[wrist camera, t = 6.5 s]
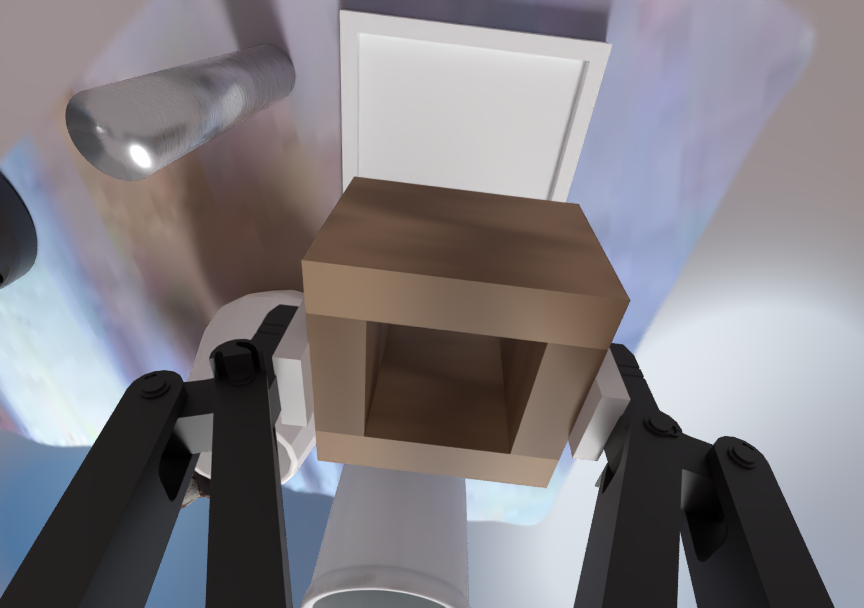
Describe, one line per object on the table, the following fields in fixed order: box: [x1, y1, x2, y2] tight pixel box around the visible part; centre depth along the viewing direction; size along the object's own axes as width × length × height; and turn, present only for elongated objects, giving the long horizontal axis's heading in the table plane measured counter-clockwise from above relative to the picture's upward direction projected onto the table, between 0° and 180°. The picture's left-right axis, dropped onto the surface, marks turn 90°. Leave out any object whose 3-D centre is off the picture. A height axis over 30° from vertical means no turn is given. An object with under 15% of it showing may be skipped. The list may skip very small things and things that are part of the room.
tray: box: [340, 9, 612, 203], centre depth 31 cm, size 16×16×2 cm
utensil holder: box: [301, 464, 470, 608], centre depth 45 cm, size 15×15×18 cm
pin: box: [66, 45, 295, 181], centre depth 22 cm, size 3×3×16 cm
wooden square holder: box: [301, 176, 630, 488], centre depth 15 cm, size 8×8×6 cm
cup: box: [188, 290, 316, 484], centre depth 36 cm, size 13×13×14 cm
